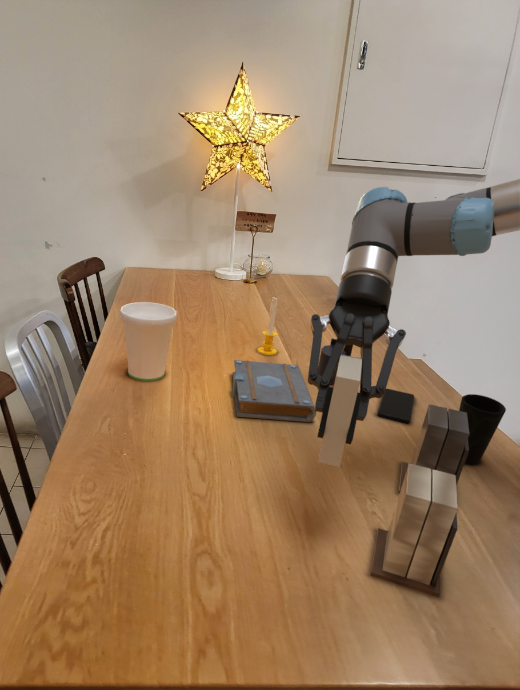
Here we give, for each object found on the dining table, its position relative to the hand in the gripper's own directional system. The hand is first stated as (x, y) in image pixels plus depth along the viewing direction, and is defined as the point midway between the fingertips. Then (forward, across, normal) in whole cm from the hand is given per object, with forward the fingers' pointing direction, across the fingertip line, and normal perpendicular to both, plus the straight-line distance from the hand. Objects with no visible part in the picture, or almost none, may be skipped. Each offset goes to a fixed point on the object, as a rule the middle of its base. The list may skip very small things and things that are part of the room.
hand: (334, 437), depth 71 cm
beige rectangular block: (0, 0, -6) cm, 6 cm away
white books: (+12, -14, -12) cm, 22 cm away
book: (-18, +14, -43) cm, 49 cm away
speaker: (-30, +2, -55) cm, 62 cm away
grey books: (-3, -18, -28) cm, 33 cm away
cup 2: (-12, -26, -37) cm, 47 cm away
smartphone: (-25, -13, -50) cm, 57 cm away
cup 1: (-18, +44, -43) cm, 64 cm away
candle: (-38, +20, -63) cm, 76 cm away
